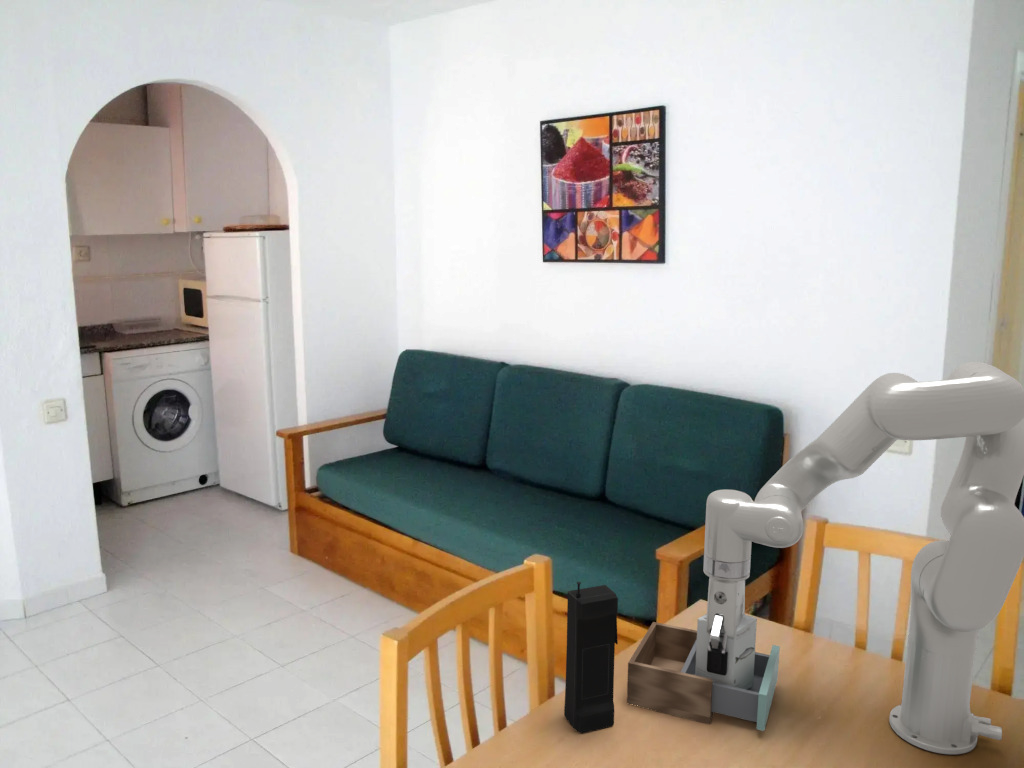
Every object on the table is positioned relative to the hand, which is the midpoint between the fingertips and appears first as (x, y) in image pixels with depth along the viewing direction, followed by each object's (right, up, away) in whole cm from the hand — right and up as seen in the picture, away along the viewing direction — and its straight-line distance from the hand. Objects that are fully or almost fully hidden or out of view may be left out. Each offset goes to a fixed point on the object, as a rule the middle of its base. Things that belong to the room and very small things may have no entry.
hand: (722, 659), depth 139 cm
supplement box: (0, -5, 0) cm, 5 cm away
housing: (-7, -7, +4) cm, 10 cm away
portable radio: (-23, -9, -5) cm, 25 cm away
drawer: (+1, -6, +1) cm, 6 cm away
